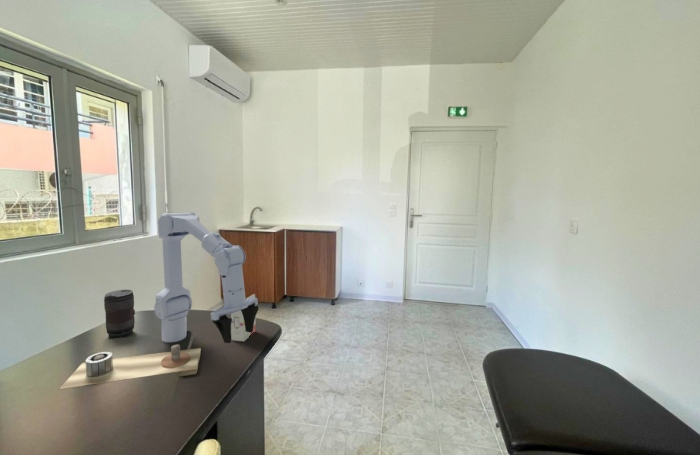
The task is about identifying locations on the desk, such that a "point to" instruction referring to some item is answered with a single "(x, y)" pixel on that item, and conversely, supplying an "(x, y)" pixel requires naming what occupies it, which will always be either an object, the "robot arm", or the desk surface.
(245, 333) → the ink cartridge box
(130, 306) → the camera lens
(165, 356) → the stand board
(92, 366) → the collar
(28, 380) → the desk surface
